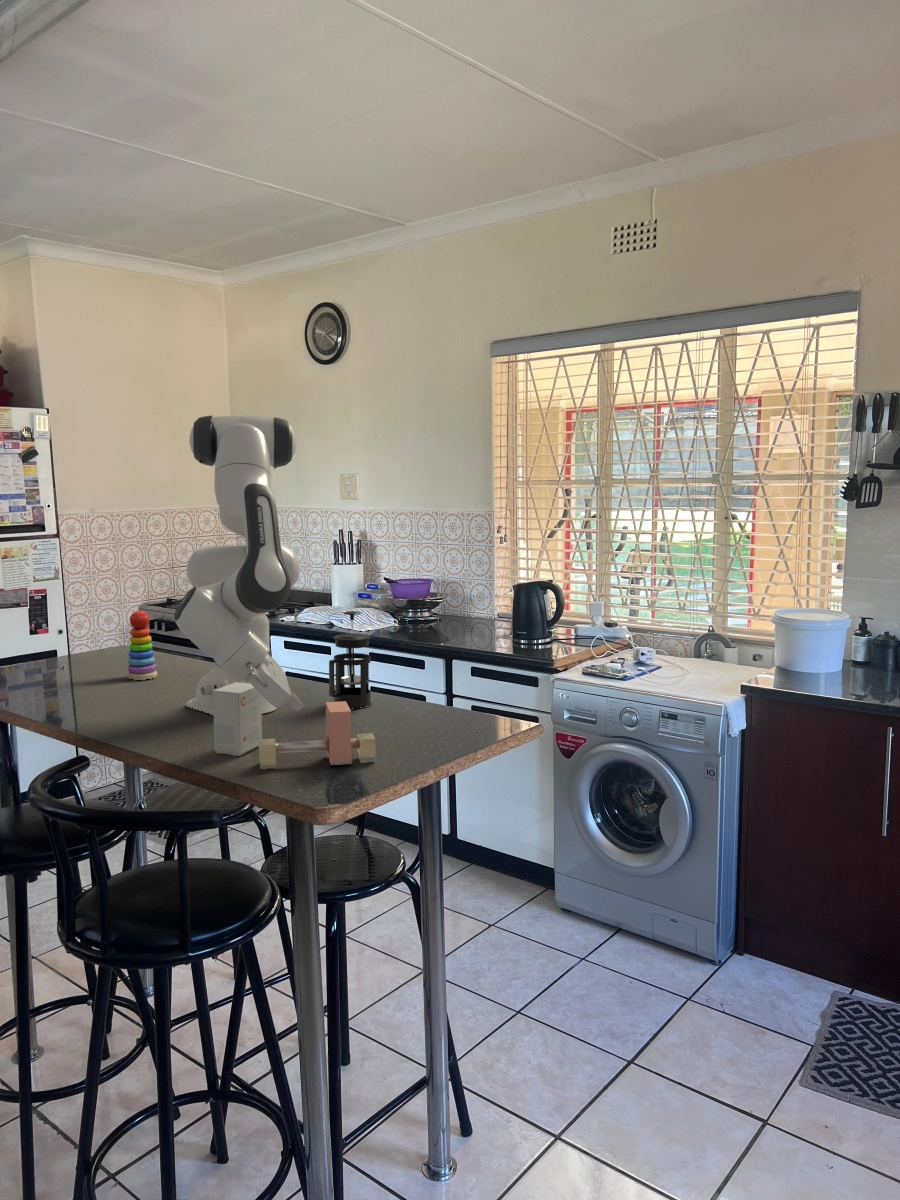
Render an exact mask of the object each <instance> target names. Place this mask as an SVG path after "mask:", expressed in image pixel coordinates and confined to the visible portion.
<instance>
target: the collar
mask: <svg viewBox="0 0 900 1200" xmlns="http://www.w3.org/2000/svg"><path fill="white" fill-rule="evenodd" d="M351 738H352V709H350V708H349V706H348V704H347V702H346V701H342V702H334V701H327V702H325V740H329V750H325V754H326V753H327V755H326V757H327V756H328V758H329V761H330V763H339V762H351V763H352V749H351ZM328 758H327V759H328ZM329 761H328V762H329Z"/></svg>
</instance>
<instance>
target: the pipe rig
mask: <svg viewBox="0 0 900 1200" xmlns="http://www.w3.org/2000/svg"><path fill="white" fill-rule="evenodd" d="M326 750H329V740H326V739H317V740H301V741H283V742H282V741H280V742H276V739H275V738H262V739H259V748H258V761H259V762H258V763H260V766H265V765H276V766H277V757H276V756H277V755H276V754H287V753H288V754H289V753H301V752H303V753H304V752H319V751H322V752H323V751H326ZM351 750H357V751H356V752H358V754H359V757H360V758H364V757H374V756H375V757H376V737H375V735H374V734H373V732H371V733H370V732H369V733H357V735H356V737H354V738H352V737H351ZM260 766H259V767H260Z"/></svg>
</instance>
